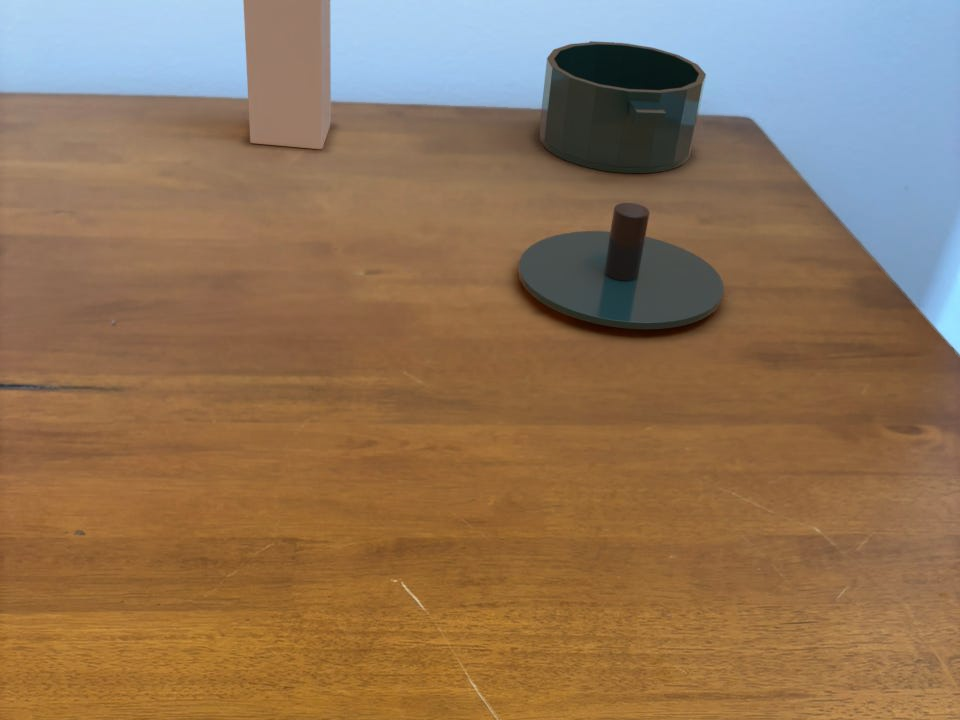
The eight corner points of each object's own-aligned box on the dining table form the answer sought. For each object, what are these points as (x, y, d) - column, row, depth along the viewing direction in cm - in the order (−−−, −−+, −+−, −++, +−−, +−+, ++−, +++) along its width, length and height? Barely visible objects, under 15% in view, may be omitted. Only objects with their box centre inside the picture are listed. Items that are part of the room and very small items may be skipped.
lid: (689, 247, 89) (705, 171, 85) (746, 338, 78) (766, 257, 74) (503, 243, 86) (510, 166, 83) (536, 337, 76) (546, 253, 72)
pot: (661, 111, 111) (674, 36, 107) (716, 188, 98) (733, 106, 94) (523, 105, 109) (531, 29, 105) (560, 184, 96) (571, 100, 92)
